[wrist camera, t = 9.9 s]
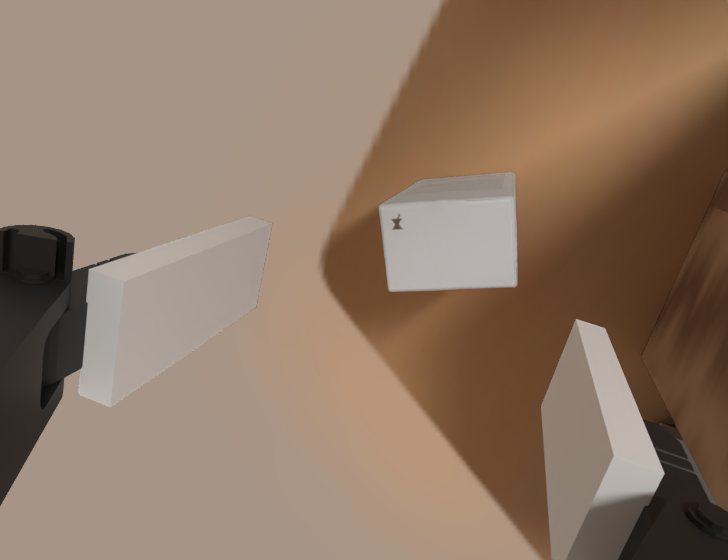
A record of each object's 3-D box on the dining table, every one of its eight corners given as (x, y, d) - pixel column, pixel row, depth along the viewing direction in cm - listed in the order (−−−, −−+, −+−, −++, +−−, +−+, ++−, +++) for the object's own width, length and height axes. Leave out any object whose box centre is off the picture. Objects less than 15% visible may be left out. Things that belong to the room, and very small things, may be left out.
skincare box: (424, 243, 37) (382, 294, 26) (419, 178, 36) (374, 202, 25) (519, 238, 35) (518, 290, 24) (517, 170, 34) (515, 192, 23)
